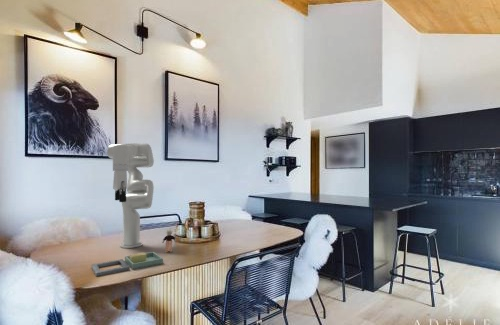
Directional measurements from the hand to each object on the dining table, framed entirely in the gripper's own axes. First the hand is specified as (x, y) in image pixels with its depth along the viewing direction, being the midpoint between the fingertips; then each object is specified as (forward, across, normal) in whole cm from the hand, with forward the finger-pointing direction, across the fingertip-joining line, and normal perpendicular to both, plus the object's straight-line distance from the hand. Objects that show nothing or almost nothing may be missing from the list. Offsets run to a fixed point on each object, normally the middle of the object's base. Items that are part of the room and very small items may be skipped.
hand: (120, 201), depth 154 cm
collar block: (+30, +12, -7) cm, 33 cm away
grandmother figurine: (+31, +1, +26) cm, 40 cm away
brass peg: (+28, +12, +9) cm, 32 cm away
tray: (+30, +12, +8) cm, 34 cm away
